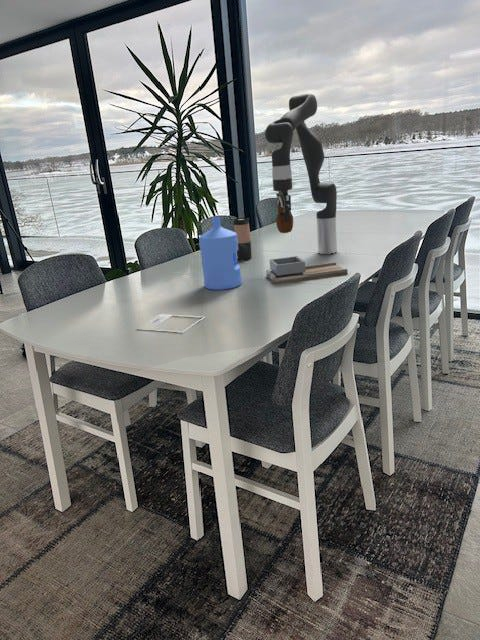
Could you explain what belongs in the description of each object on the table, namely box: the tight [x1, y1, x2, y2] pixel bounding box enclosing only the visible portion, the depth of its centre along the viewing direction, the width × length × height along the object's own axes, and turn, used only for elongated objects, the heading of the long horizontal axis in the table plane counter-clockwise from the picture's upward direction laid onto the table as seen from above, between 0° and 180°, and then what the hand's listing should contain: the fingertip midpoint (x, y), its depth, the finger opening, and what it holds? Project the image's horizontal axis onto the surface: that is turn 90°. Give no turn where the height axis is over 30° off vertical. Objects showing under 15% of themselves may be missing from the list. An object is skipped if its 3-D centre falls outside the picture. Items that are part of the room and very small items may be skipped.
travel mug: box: [233, 217, 252, 261], centre depth 248 cm, size 8×8×20 cm
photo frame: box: [147, 313, 206, 334], centre depth 167 cm, size 15×1×18 cm
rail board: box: [266, 261, 349, 285], centre depth 209 cm, size 14×31×3 cm, turn 100°
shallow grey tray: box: [269, 255, 306, 278], centre depth 207 cm, size 12×12×6 cm
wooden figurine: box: [275, 201, 294, 234], centre depth 200 cm, size 7×6×15 cm
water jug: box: [198, 216, 243, 291], centre depth 203 cm, size 16×16×28 cm
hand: (284, 220), depth 201 cm, fingers closed on wooden figurine, 6 cm apart
